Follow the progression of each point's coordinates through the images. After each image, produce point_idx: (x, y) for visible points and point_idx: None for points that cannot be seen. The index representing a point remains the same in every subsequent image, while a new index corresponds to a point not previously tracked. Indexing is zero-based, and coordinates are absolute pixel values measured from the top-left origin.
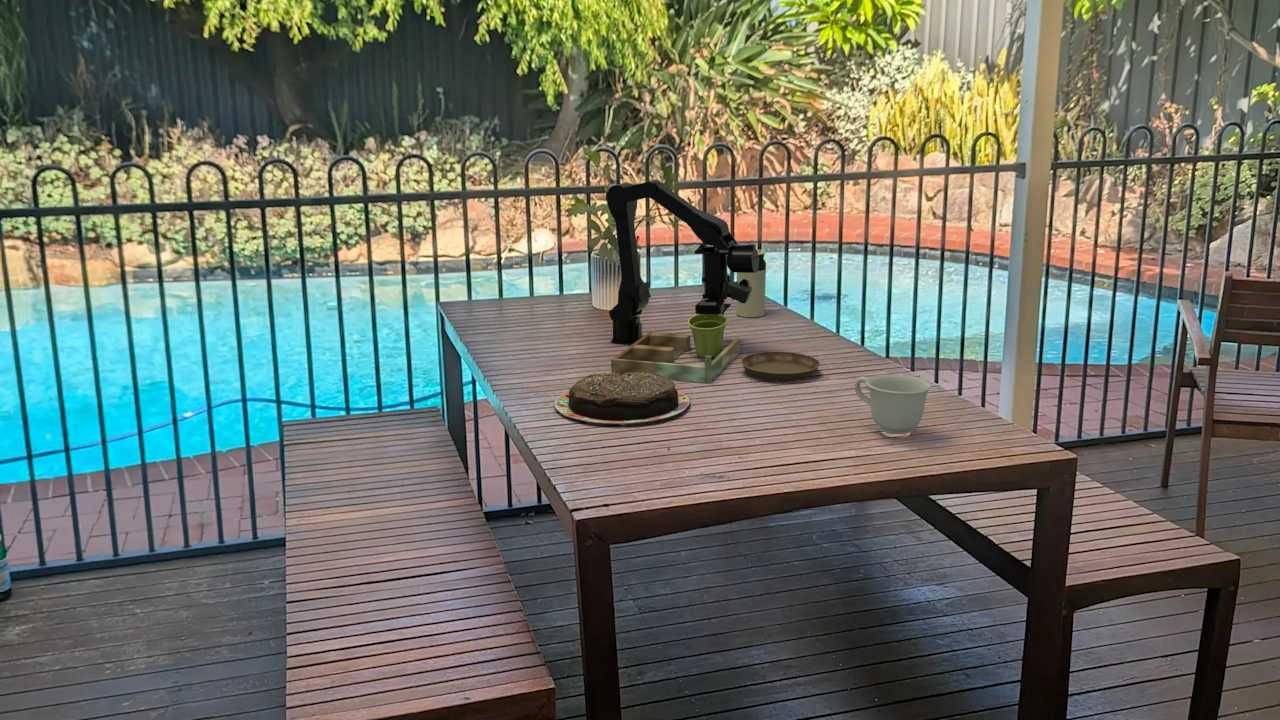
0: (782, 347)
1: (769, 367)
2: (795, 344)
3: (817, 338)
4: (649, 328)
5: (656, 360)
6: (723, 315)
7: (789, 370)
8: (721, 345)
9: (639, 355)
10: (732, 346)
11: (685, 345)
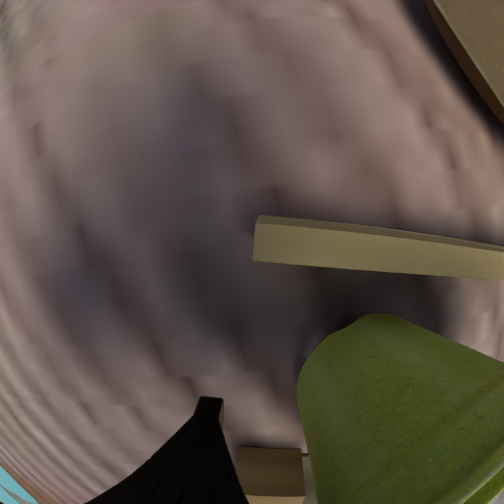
0: (107, 33)
1: (498, 67)
2: (64, 18)
3: (12, 12)
4: (73, 489)
5: None
6: (132, 496)
7: (491, 14)
8: (421, 330)
9: None
10: (479, 248)
11: (303, 472)
